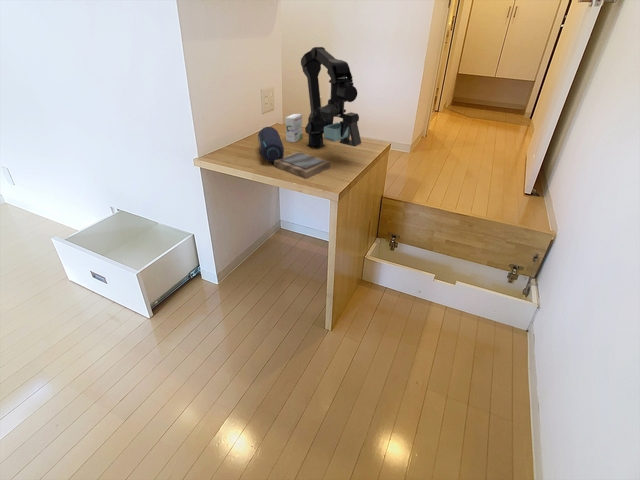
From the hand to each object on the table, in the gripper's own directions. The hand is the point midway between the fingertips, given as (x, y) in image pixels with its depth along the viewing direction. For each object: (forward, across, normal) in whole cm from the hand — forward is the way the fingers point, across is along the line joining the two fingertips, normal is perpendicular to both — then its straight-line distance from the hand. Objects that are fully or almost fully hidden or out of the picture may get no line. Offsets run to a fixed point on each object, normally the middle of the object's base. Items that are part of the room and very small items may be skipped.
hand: (335, 135), depth 151 cm
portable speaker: (+11, -24, -15) cm, 30 cm away
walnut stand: (+11, -5, -16) cm, 20 cm away
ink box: (+11, -32, +8) cm, 35 cm away
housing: (+1, 0, 0) cm, 1 cm away
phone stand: (+11, -8, +23) cm, 27 cm away
